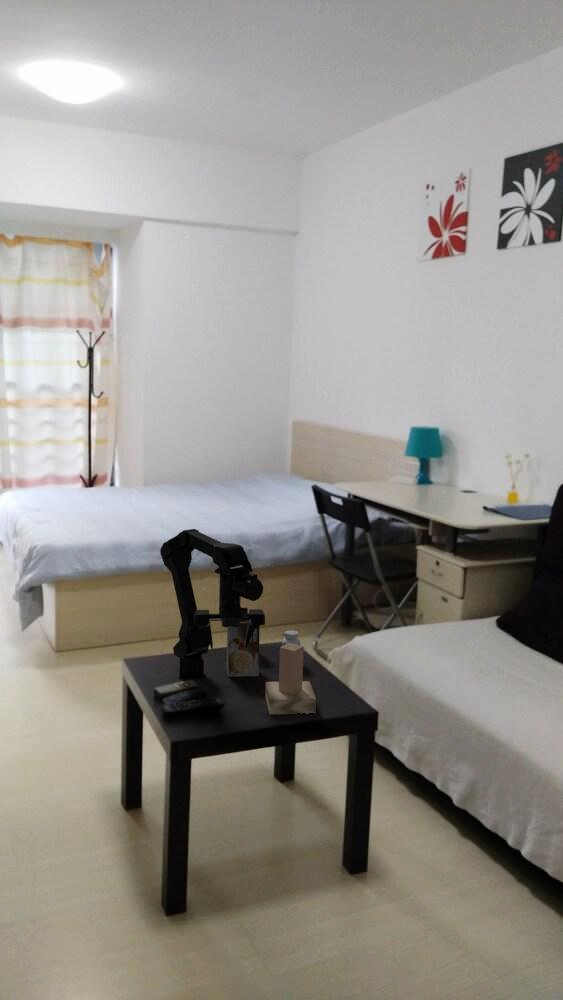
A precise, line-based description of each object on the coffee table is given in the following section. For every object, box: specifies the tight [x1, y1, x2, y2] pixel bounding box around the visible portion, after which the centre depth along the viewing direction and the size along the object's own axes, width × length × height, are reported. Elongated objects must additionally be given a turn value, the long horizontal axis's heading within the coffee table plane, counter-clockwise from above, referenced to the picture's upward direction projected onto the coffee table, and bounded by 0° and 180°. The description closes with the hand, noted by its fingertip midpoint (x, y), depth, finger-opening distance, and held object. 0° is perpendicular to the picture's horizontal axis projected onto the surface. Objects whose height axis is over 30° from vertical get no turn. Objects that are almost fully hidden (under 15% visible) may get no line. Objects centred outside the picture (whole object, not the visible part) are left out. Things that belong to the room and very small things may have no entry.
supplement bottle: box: [281, 629, 301, 647], centre depth 258 cm, size 5×5×10 cm
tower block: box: [278, 643, 305, 695], centre depth 228 cm, size 4×4×12 cm
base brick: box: [264, 680, 317, 715], centre depth 229 cm, size 12×12×4 cm
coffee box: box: [226, 621, 260, 678], centre depth 249 cm, size 9×6×16 cm
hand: (228, 647), depth 233 cm, fingers open, 9 cm apart
